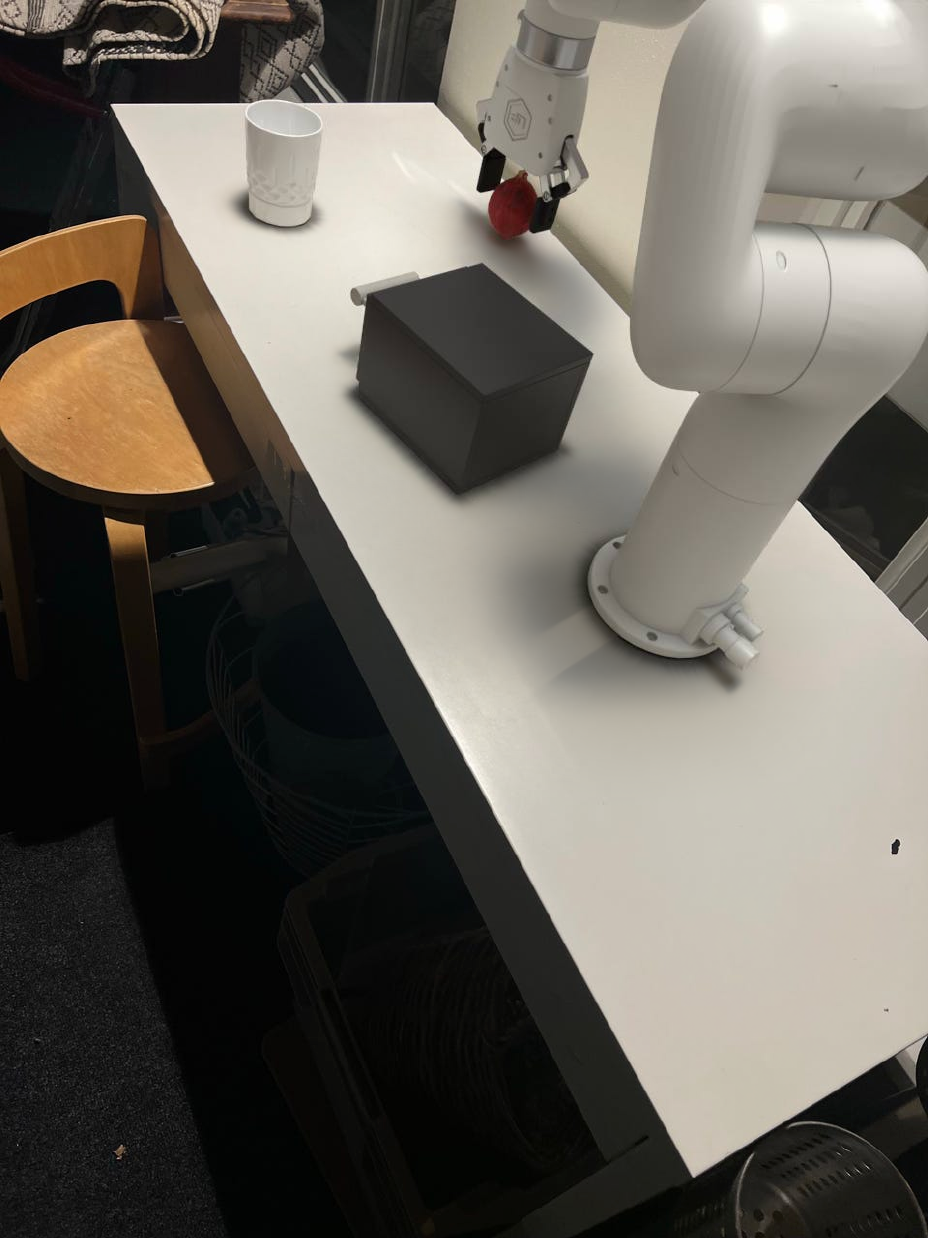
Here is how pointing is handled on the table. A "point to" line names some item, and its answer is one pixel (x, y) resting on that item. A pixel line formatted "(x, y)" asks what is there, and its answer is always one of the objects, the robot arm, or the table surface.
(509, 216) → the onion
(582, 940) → the table surface
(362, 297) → the drawer
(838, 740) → the table surface
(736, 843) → the table surface
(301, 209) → the white cup
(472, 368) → the dark grey box
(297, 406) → the table surface
